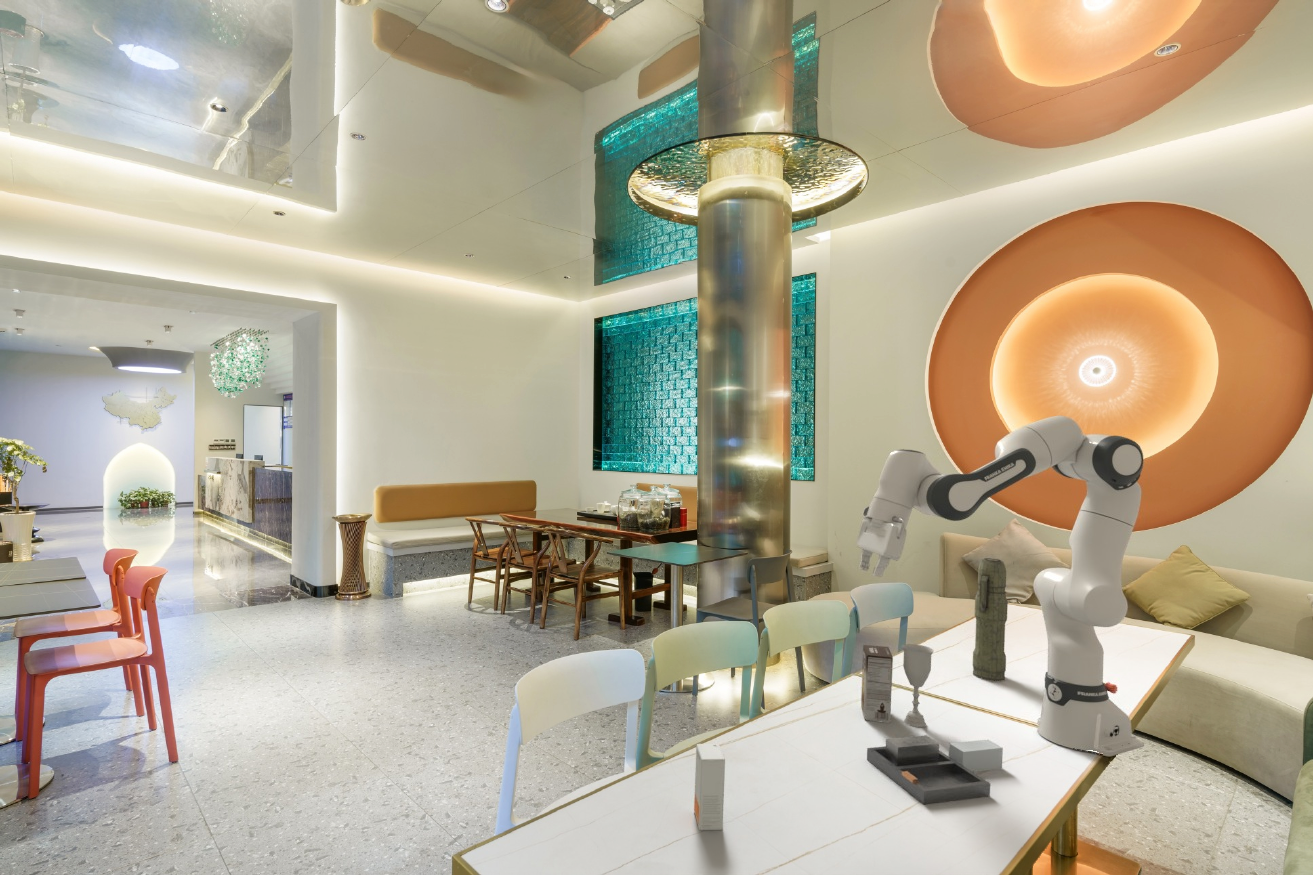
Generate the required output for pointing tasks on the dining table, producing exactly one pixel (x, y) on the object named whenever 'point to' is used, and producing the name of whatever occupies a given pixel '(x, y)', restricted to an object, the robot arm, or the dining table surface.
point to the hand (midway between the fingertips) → (869, 572)
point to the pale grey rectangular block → (977, 755)
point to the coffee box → (876, 683)
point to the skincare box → (709, 786)
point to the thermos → (990, 621)
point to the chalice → (916, 677)
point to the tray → (926, 770)
